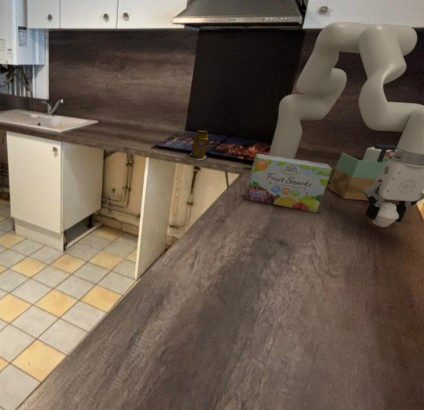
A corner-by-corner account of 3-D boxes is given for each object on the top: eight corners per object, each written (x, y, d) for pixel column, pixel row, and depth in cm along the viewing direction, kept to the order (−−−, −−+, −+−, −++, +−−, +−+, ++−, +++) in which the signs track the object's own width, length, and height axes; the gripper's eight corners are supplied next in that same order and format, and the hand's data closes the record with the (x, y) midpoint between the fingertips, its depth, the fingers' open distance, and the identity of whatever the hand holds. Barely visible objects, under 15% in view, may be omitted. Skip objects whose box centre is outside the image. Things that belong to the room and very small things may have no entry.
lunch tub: (335, 168, 132) (346, 136, 127) (374, 171, 131) (387, 139, 127) (352, 177, 122) (366, 144, 118) (395, 180, 122) (410, 147, 117)
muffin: (364, 217, 105) (374, 195, 102) (389, 222, 103) (400, 200, 100) (369, 226, 100) (379, 203, 97) (395, 231, 98) (407, 209, 95)
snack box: (245, 200, 120) (256, 156, 113) (244, 194, 124) (255, 152, 118) (317, 213, 113) (333, 167, 107) (313, 206, 118) (329, 162, 111)
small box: (372, 183, 144) (385, 152, 138) (354, 178, 148) (366, 148, 143) (380, 180, 148) (393, 149, 142) (363, 175, 152) (374, 146, 147)
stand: (328, 188, 135) (335, 168, 132) (366, 191, 135) (374, 171, 131) (343, 198, 126) (351, 177, 123) (384, 201, 126) (393, 180, 122)
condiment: (206, 156, 166) (211, 131, 162) (202, 160, 160) (208, 134, 155) (190, 153, 170) (195, 128, 165) (186, 157, 163) (191, 131, 158)
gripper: (386, 159, 90) (359, 222, 98) (458, 165, 89) (424, 227, 97) (367, 150, 97) (343, 210, 104) (433, 155, 96) (404, 215, 104)
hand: (382, 218), depth 101 cm, fingers closed on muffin, 6 cm apart
